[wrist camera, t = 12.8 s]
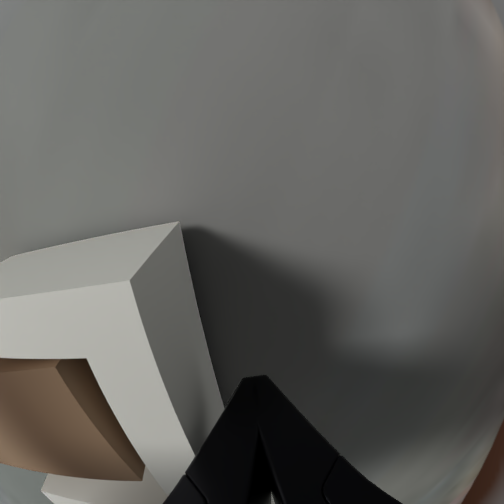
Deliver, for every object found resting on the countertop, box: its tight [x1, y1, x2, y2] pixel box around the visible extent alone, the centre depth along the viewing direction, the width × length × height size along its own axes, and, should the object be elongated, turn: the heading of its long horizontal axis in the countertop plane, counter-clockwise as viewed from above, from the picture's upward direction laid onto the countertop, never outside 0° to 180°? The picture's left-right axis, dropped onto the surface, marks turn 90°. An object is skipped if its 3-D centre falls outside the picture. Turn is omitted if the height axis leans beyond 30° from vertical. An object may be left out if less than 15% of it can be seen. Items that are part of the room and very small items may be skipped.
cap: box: [0, 221, 224, 504], centre depth 7 cm, size 8×6×4 cm
